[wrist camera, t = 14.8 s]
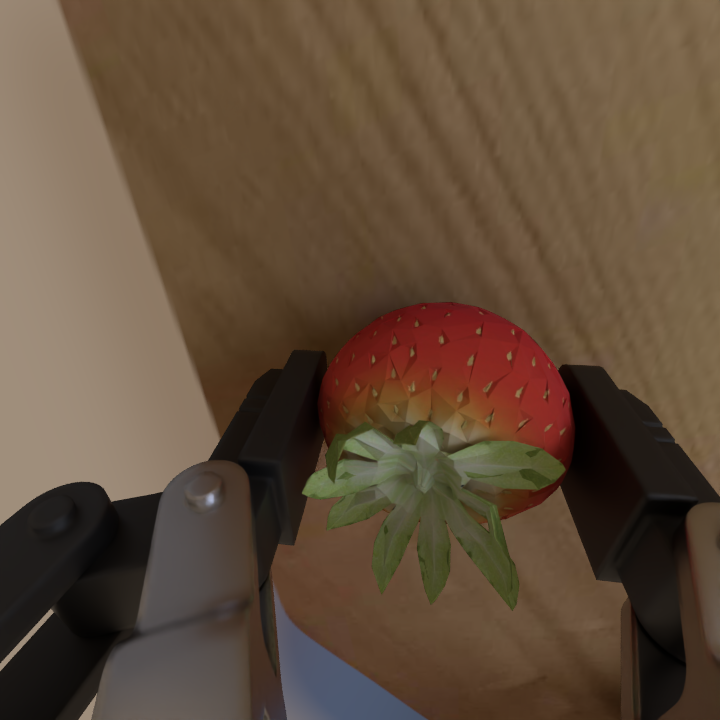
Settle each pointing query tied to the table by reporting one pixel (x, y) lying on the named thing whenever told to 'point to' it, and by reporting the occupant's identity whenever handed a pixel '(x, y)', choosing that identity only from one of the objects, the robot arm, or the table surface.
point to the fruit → (442, 437)
